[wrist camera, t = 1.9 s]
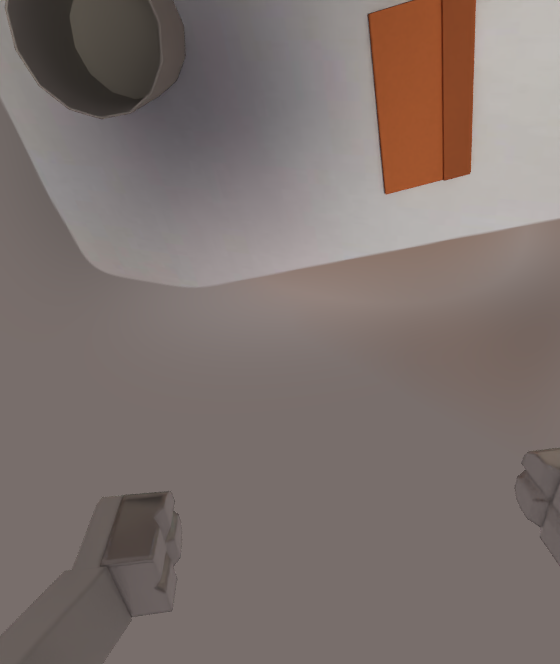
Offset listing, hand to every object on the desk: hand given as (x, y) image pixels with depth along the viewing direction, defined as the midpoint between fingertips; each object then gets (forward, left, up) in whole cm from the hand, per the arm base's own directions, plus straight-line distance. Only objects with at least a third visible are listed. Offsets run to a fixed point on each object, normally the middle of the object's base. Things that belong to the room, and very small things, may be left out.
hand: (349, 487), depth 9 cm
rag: (-1, +13, -34) cm, 36 cm away
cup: (-11, -9, -34) cm, 37 cm away
